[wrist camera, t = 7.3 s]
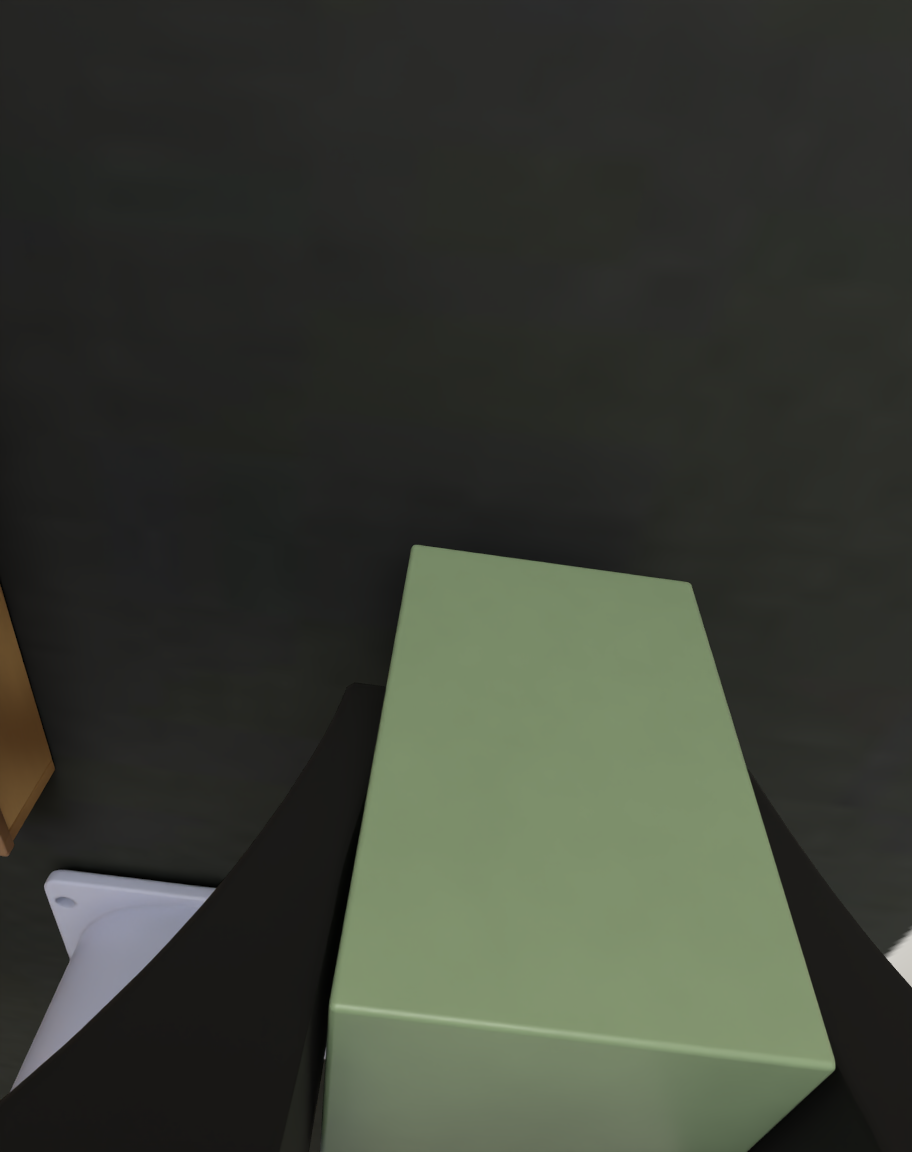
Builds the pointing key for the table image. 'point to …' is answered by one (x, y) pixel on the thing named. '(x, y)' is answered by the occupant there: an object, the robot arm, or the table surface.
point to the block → (561, 884)
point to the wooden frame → (18, 739)
